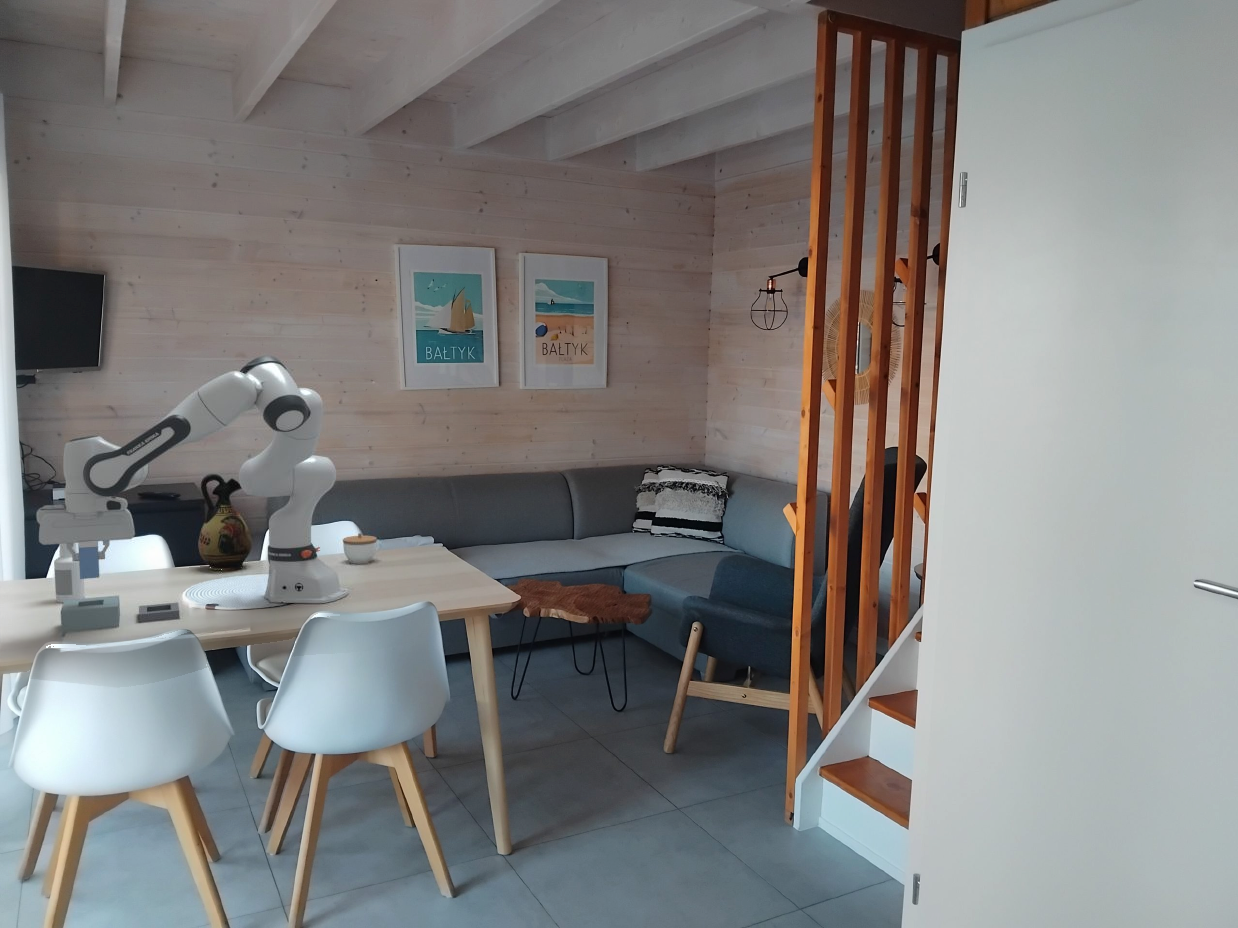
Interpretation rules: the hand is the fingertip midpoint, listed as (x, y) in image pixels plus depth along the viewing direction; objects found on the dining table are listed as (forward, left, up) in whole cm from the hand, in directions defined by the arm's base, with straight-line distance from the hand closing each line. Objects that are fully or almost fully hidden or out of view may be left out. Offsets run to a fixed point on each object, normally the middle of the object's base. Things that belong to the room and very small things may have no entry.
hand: (89, 559), depth 231 cm
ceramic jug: (+12, -67, -17) cm, 70 cm away
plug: (0, 0, -4) cm, 4 cm away
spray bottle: (+26, -21, -17) cm, 38 cm away
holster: (-11, -10, -17) cm, 22 cm away
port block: (0, 0, -17) cm, 17 cm away
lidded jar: (-24, -88, -17) cm, 93 cm away
